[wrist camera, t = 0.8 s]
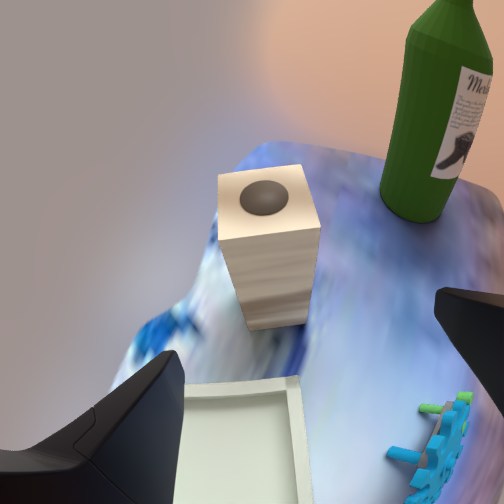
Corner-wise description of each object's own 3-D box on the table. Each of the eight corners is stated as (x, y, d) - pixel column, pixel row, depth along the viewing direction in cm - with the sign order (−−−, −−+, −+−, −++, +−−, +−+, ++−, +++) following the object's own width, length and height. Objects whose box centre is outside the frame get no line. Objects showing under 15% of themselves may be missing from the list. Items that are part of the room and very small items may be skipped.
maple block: (306, 323, 24) (321, 225, 13) (249, 330, 24) (217, 239, 14) (297, 274, 27) (300, 163, 16) (245, 281, 27) (217, 173, 17)
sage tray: (312, 521, 14) (315, 533, 11) (165, 521, 14) (151, 530, 12) (296, 381, 21) (298, 374, 19) (157, 389, 22) (142, 383, 19)
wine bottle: (410, 234, 28) (474, -73, 2) (365, 183, 33) (383, -82, 7) (453, 211, 29) (517, -33, 3) (411, 168, 34) (442, -55, 8)
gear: (426, 527, 10) (407, 518, 8) (373, 510, 15) (331, 488, 13) (480, 419, 16) (477, 362, 13) (429, 414, 20) (408, 360, 18)
